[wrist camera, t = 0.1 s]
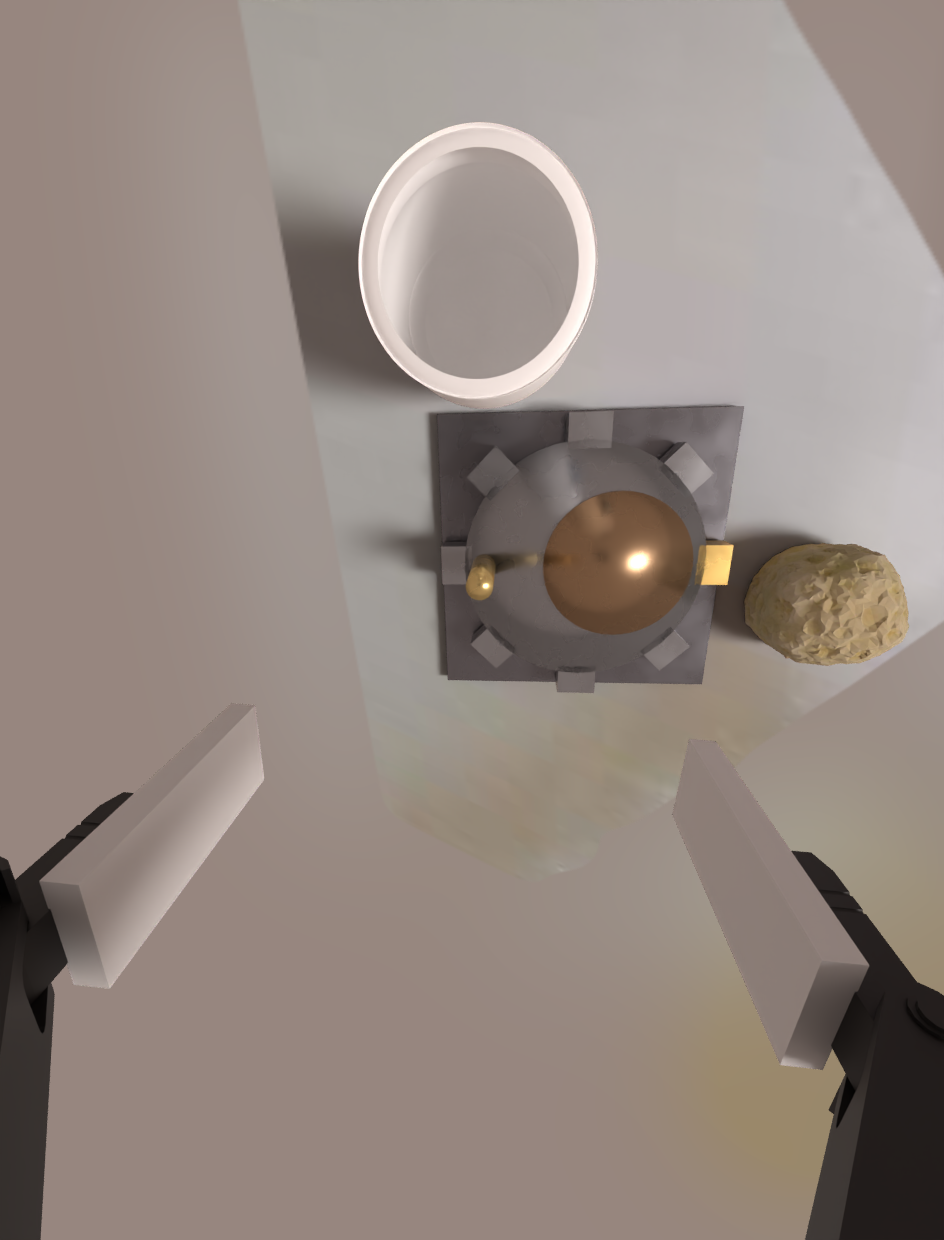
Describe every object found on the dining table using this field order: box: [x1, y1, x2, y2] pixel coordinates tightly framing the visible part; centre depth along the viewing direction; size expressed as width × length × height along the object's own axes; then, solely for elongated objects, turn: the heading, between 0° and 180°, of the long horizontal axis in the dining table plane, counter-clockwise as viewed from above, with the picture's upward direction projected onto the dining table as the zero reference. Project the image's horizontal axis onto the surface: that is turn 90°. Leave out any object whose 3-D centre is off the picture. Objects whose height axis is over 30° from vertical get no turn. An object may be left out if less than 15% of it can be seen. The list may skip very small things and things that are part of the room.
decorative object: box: [744, 543, 909, 666], centre depth 37 cm, size 9×10×10 cm
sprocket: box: [441, 411, 734, 693], centre depth 36 cm, size 22×22×8 cm
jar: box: [359, 122, 598, 409], centre depth 29 cm, size 11×10×15 cm
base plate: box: [437, 406, 744, 684], centre depth 40 cm, size 22×22×1 cm
